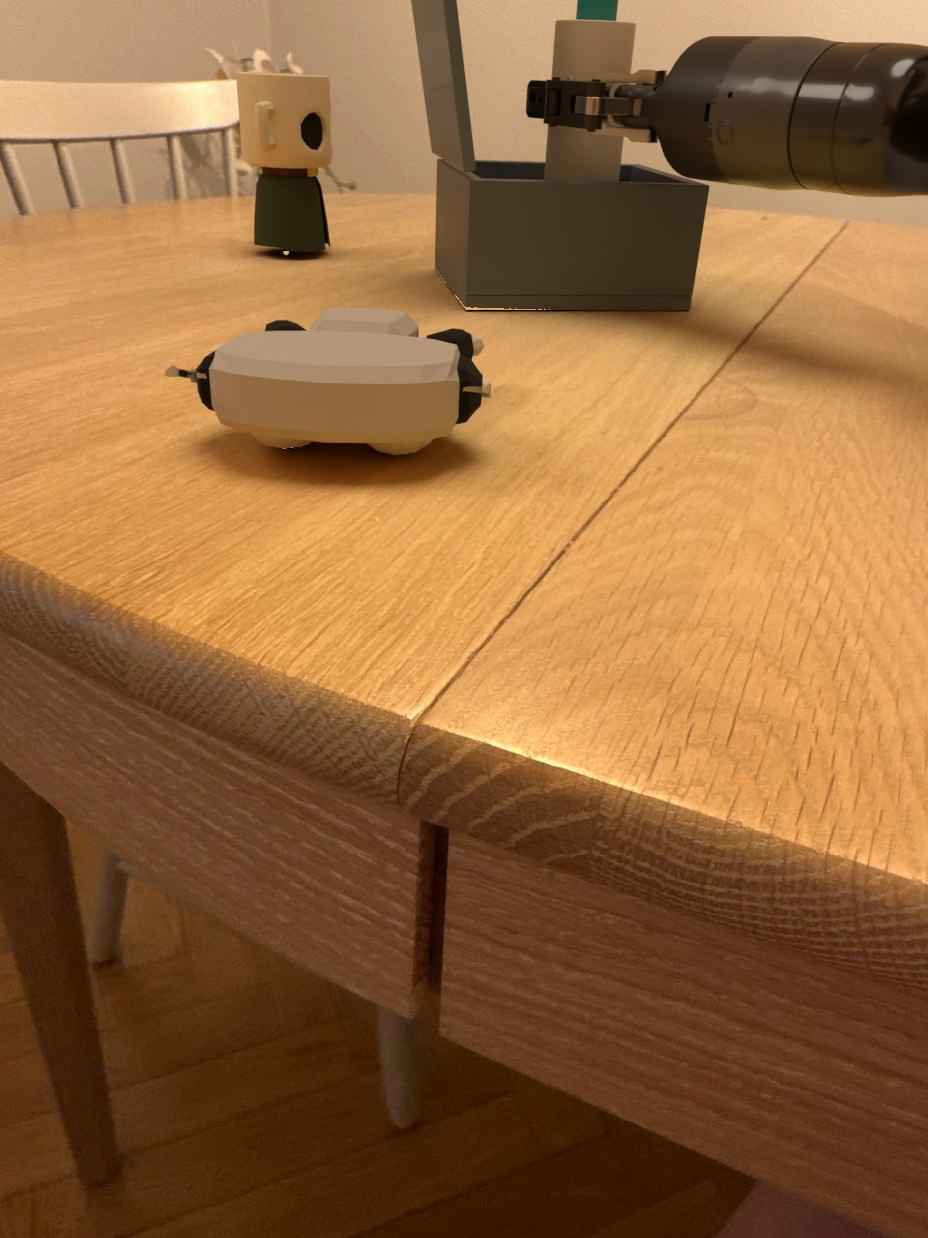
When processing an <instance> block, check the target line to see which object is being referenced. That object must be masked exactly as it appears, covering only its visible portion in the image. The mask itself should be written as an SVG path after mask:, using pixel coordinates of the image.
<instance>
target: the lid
mask: <svg viewBox="0 0 928 1238" xmlns="http://www.w3.org/2000/svg"><path fill="white" fill-rule="evenodd" d="M410 3H411V10H412V18H413V24H414V33H415V40H416V48H417V55H418V61H419V68H420V69H419V70H420V74H421V75H420V77H421V83H422V90H423V98H424V104H425V113H426V120H427V126H428V134H429V142H430V149H431V153H432V154H433V155H436V156H437V157H439V159H443V160H445V161H447V162H448V163H450V164H452V165H453V166H455V167H456V168H458V169H460V170H461V171H463V172H471V171H475V170H476V164H475V160H476V156H475V155H476V154H475V148H474V139H473V131H472V130H473V129H472V121H471V114H470V113H471V112H470V106H469V105H470V103H469V95H468V87H467V78H466V70H465V69H466V68H465V62H464V61H465V60H464V53H463V43H462V36H461V34H462V33H461V27H460V18H459V10H458V2H457V0H410Z"/></svg>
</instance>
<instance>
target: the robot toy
mask: <svg viewBox="0 0 928 1238" xmlns="http://www.w3.org/2000/svg"><path fill="white" fill-rule="evenodd" d="M419 330H420V327H419V326H418V325H417V323H416V322H415V321H414V319H413V318H412V317H411V316H410V315H409V313H408V312H405V311H404V312H403V311H399V310H393V309H384V308H371V307H370V308H367V307H334V308H325V309H324V310H322V312H321V313H320V314H319V315H318V316H317V317H316V318H315V319H314V320H313V321H312V322H311V325H310V328H309V330H307V329H306V328H305V327H303V326H302V325H300V324H299V323H297V322H294V321H291V320H288V319H275V320H273V321H271V322H268V323H266V324H265V328H264V327H263V328H262V330H261V331H256V332H246V333H244V332H243V333H237V334H236V335H235V336H233V337H232V338H230V339H228V341H226V342H225V343H223V344H222V345H220V346H218V347H217V348H215V349H214V350H213V351H211V352H210V353H209V354H207V355H206V356H204V357H203V358H202V361H201V362H199V364H198V366H197V367H196V368H190V370H188V369H184V368H179V367H178V368H177V366H176V365H169V364H164V376H165V377H169V378H177V377H179V378H182V379H183V378H184V379H189V380H190V383H193V384H196V386H197V388H196V389H197V393H198V397H199V399H200V401H201V403H202V404H203V405H204V406H205V407H206V408H207V409H208V410H209V411H212V412H214V413H215V415H216V417H217V419H218V421H219V423H220V424H221V425H223V426H226V427H227V428H231V429H233V430H235V431H237V432H240V433H245V434H249V435H250V436H251V437H252V438H255V439H256V440H257V441H258V442H260V443H261V444H263V445H265V446H267V445H269V446H268V447H271V446H274V447H273V448H275V447H279V448H291V447H300V448H303V447H302V446H304V445H306V446H308V445H309V444H311V443H312V442H317V443H329V444H330V443H333V444H335V443H336V444H337V443H339V444H344V443H345V444H356V443H357V444H366V445H368V446H370V447H372V448H373V449H374V450H375V451H377V452H380V453H384V454H388V455H392V456H402V455H408V454H414V453H415V454H416V453H417V452H418V451H419V450H421V449H423V448H425V447H427V446H428V445H430V444H432V442H433V440H434V439H440V438H444V437H449V436H451V435H452V433H453V430H454V428H455V426H456V425H462V424H465V423H467V422H468V421H469V420H470V418H471V417H472V416H473V415H474V413H475V412H476V411H477V410H478V409H480V407H481V406H482V398H483V399H485V398H486V399H491V397H492V396H491V395H492V394H491V393H492V383H491V381H489V380H483V379H484V375H483V374H482V372H481V371H480V370H479V368H478V367H477V366H476V364H475V362H473V357H478V356H479V355H480V354H481V353H482V352H483V350H484V348H485V345H484V341H483V339H482V338H477V337H473V336H472V334H471V333H470V332H468V331H466V330H464V329H463V328H454V327H452V328H448V329H445V330H442V331H437V332H434V333H431V334H428V335H426V337H420V335H419ZM304 447H305V446H304ZM279 448H278V449H279ZM401 454H402V455H401Z"/></svg>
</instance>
